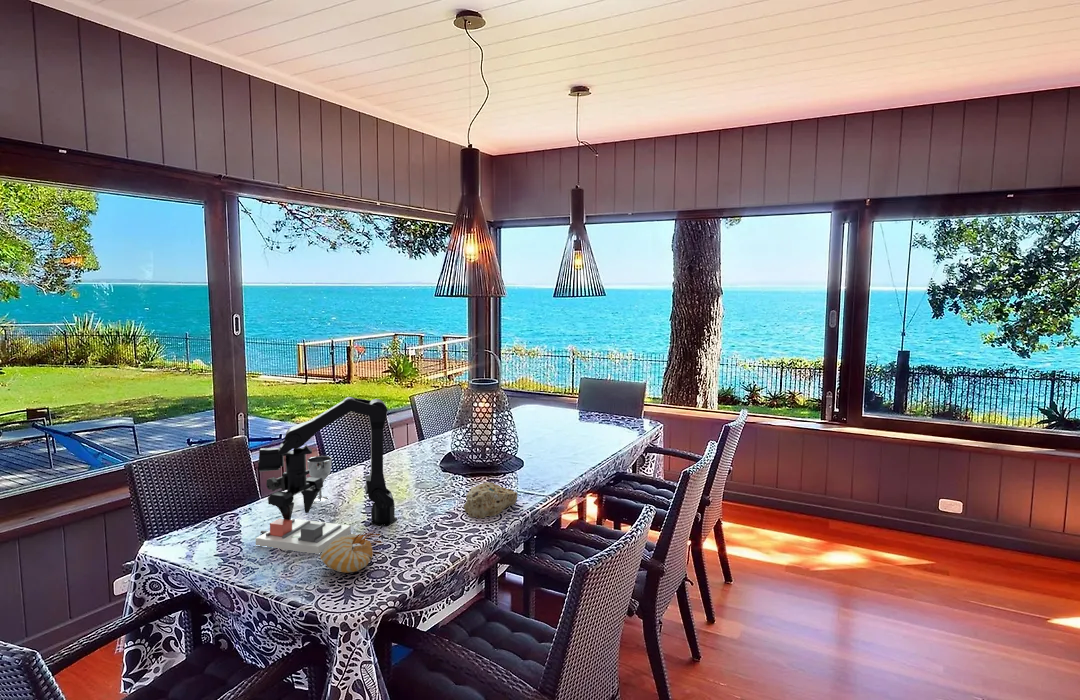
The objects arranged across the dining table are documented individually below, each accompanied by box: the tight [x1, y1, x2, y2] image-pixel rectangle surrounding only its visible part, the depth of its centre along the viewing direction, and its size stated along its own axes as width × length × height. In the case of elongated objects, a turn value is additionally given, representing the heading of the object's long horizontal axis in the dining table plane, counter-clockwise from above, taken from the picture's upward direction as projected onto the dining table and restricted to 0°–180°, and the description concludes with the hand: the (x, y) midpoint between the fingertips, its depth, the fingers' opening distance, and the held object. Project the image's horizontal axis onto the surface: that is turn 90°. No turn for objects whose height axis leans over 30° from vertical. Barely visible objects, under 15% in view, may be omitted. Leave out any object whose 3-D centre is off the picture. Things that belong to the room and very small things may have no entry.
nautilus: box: [319, 529, 384, 574], centre depth 161 cm, size 8×22×15 cm
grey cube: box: [301, 523, 323, 542], centre depth 172 cm, size 4×4×4 cm
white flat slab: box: [255, 518, 352, 555], centre depth 178 cm, size 26×16×3 cm, turn 75°
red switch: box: [269, 518, 292, 536], centre depth 175 cm, size 4×4×4 cm
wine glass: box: [306, 455, 332, 501], centre depth 211 cm, size 8×8×15 cm
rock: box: [463, 482, 518, 519], centre depth 204 cm, size 21×14×10 cm
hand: (297, 518), depth 183 cm, fingers open, 9 cm apart
